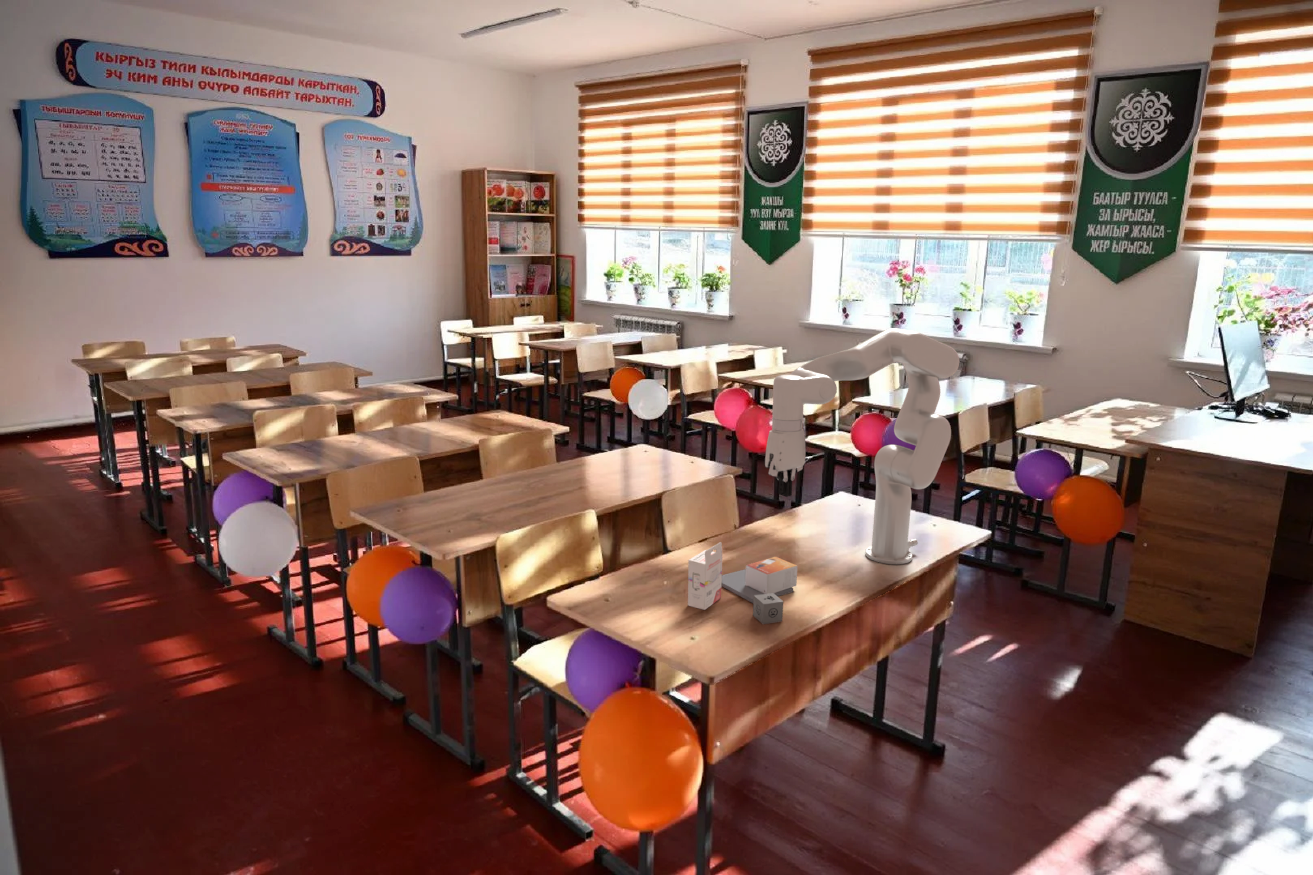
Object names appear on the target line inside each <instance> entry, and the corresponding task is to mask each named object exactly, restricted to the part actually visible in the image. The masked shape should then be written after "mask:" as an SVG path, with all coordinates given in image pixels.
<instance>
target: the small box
mask: <svg viewBox="0 0 1313 875" xmlns="http://www.w3.org/2000/svg"><path fill="white" fill-rule="evenodd" d="M745 569H746V577H745V585H746V586H748V587H751V588H753V589H755V590H757V591H759V592H761V593H763V594H769V593H776V592H779V591H782V590H785V589H788V588H791V587H792V588H794V587H797V584H798V583H797V580H798V565H797V564H794V563H792V562H789V561H787V560H784V559H782V558H779V557H778V556H772V557H769V558H766V559H761V560H759V561H756V562H752V563H749V564H746V565H745Z"/></svg>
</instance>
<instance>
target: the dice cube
mask: <svg viewBox="0 0 1313 875" xmlns="http://www.w3.org/2000/svg"><path fill="white" fill-rule="evenodd" d="M752 604H753V607H752V609H753V610H752V612H753V613H752V616H753V617H754V618H755V619H756V620H757V621H759V622H760V623H761V625H767V624H775V623H780V622H783V615H784V614H783V613H784V601H783V599H781V598H780V596H778V597H777V596H776V595H775V594H774V593H769V594H762V595H755V596H754V603H752Z"/></svg>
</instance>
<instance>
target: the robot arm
mask: <svg viewBox="0 0 1313 875" xmlns="http://www.w3.org/2000/svg"><path fill="white" fill-rule="evenodd" d="M895 363H901V364H902V365H903V368H904V370H905V372H906V375H907V378H908V387H907V392H906V395H905V398H904V400H903V402H902V405H901V408H900V410H899V412H898V415H897V417H896V420H895V423H894V427H893V432H894V435H895V437H896V438H897V439H899V440H901V441H902V442H904V443H907V444H910V445H913V446H915V448H914V449H911V448H908V447H905V446H902V445H899V444H898V445H897V444H888V445H884V446H883V447H881V448H880V449H879V450H878V451H877V453H876V454H875V457H874V463H873V464H874V474H875V475H874V476H875V500H874V509H873V510H874V514H873V522H872V523H873V524H872V535H871V537H872V538H871V546H868V547H867V548H866V549H865V556H866V558H868V559H869V560H871V561H874V562H877V563H880V564H886V565H905V564H908V563H910V562H911V561H912V560H913V554H912V552H911V551H910V548H911V547H912V548H913V547H916V546H918V544H919V542H918V540H917V539H916V538H912V539H909V531H910V530H909V529H910V523H911V522H910V520H911V509H912V501H913V500H912V489H914V490H923V489H926V488H927V487H929V486H930V485H931V484H932V482H933V481H934V480H935V478H936V477H937V473H938V471H939V469H940V467H941V463H942V461H943V459H944V456H945V454H946V452H947V449H948V447H949V445H950V441H951V438H952V437H951V436H952V429H951V428H952V427H951V425H950V424H951V423H950V422H949V420H948V419H947V418H945V417H944V416H943V415H940V414H937V413H936V410H937V407H938V404H939V402H940V399H941V385H940V381H939V379H947V378H949V377H952V376H953V375H955V373H956V372H957V371H958V369H959V365H960V357H959V354H958V352H957V351H956V349H954V348H953V347H952V346H950V345H948V344H946V343H944V342H941V341H939V340H937V339H935V338H932V337H930V336H927V335H926V334H923V333H921V332H918V331H914V330H908V329H903V328H894V327H893V328H888V329H885V330H882V331H881V332H879V333H877V334H875V335H873V336H872V337H869V338H868V339H866V340H864V341H862V342H861V343H859V344H857V345H855V346H853V347H851V348H849V349H844V350H840V351H838V352H834V353H830V354H827V355H822V356H820V357H816V358H814V359H812V360H811V361H808V362H806V363H804V364H802V365H800V366H798V367H797V368H796V369H794V370H793V371H792V372H791V373H789V374H780V375H777V376H775V378H774V379H773V384H772V386H773V389H772V390H773V391H772V419H771V422H772V423H771V424H772V425H771V430H769V432H768V437H767V442H766V449H765V458H764V465H765V468H766V469H769V470H768V475H769V476H772V477H775V478H776V479H777V481H778V495H780V496H783V497H786V498H788V497H791V496H792V494H793V481H794V480H795V478H796V474H797V473H798V472H800V471H802V470H803V468H804V465H805V463H806V438H805V437H806V436H805V431H804V429H803V428H804V427H803V424H804V423H805V419H804V405H825V404H828V403H830V402H831V401H832V400H833V399H835V397H836V395H837V390H838V387H837V383H836V382H841V381H842V382H843V381H857V380H864V379H867V378H869V377H870V376H872V375H873V374H875V373H878V372H879V371H881V370H883V369H884V368H886V367H889V366H891V365H892V364H895ZM911 488H912V489H911Z"/></svg>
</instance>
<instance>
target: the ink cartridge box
mask: <svg viewBox="0 0 1313 875" xmlns="http://www.w3.org/2000/svg"><path fill="white" fill-rule="evenodd" d="M722 546H723V544H722V542H721V541H720V542H718V543H716V544H714V545H713V546H711V547H709V548H708V549H704V550H703V551H701V552H700V553H698V554H696V555H694V556H693V557H691V558H689V559H688V560H687V561H688V565H687V566H688V567H687V568H688V571H687V573H688V575H687V576H688V577H687V578H688V579H687V580H688V582H687V606H688V607H691V608H695V609H696V608H697V609H699V610H704V611H705V610H707V609H708V608H709V607H711V606H712V605H714V604H715V603H716V602H717V601H719V600H720V599H721V598H722V586H721V583H722V575H723V574H722V573H723V548H722Z"/></svg>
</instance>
